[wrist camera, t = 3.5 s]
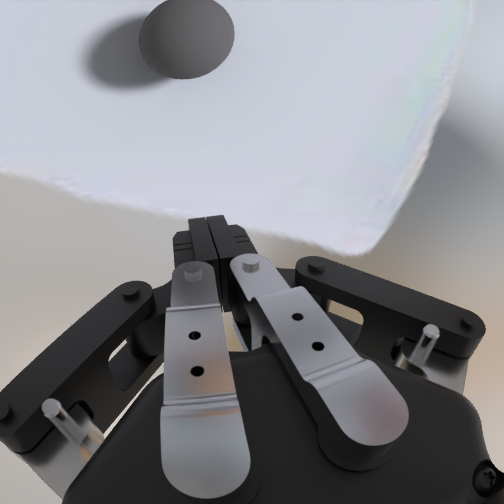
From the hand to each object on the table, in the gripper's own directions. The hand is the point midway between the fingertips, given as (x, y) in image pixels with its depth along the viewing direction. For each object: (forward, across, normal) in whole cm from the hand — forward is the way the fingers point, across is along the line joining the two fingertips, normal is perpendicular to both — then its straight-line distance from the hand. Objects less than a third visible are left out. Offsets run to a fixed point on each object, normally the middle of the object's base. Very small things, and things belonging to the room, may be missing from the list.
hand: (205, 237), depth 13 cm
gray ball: (+7, 0, -10) cm, 12 cm away
